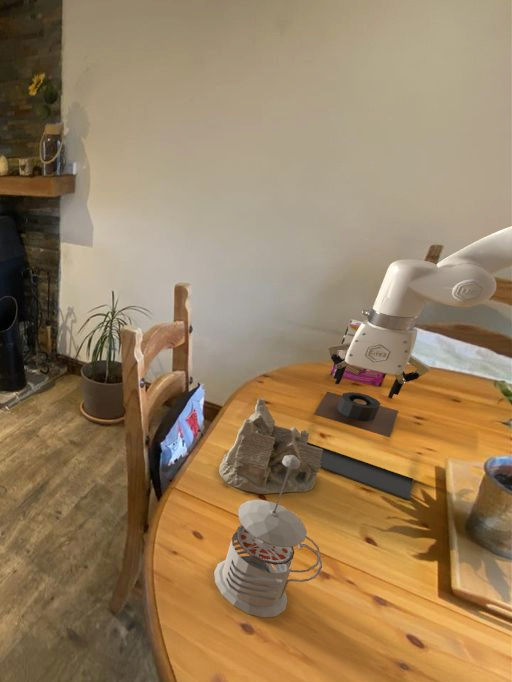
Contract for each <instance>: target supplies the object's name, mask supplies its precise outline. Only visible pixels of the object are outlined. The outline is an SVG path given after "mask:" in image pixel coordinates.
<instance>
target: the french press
mask: <svg viewBox="0 0 512 682" xmlns="http://www.w3.org/2000/svg"><path fill="white" fill-rule="evenodd" d="M282 463H283V464H284V465H285V466H286V467H289V468H288V471H287V474H286V477H285V480H284V483H283V486H282V489H281V492H280V493H279V496H278V497H277V501H276V502H273V501H270V500H269V501H268V500H263V499H251V500H250V499H249V500H246V501H245V502H243V503H241V504H240V506H239V508H238V510H237V515H238V520H239V522H240V523H241V525H239V526H238V527H237V528H236V531H235V532H234V533H233V534H232V537H231V539H230V544H229V546H228V551H227V553H226V558H225V559H223V560H222V561H221V562H219V563H217V565H216V567H215V569H214V571H213V575H214V583H215V585H216V587H217V588H218V591H219V592H220V594H221V595H222V597H224V598H225V599H226V600H227V601H228V602H229V603H230V604H231V605H232V606H234V607H235V608H237V609H239V610H240V611H242V612H243V613H246V614H247V615H251V616H256V617H259V618H262V619H263V618H273V617H278V616H280V615H281V613H283V612H285V611H286V608H287V604H288V601H289V600H288V596H287V592H286V589H287V586H288V584H289V583H291V582H296V583H297V582H299V583H302V582H309V581H311V580H313V579H315V578H317V576H319V575H320V572H321V571H322V568H323V562H322V559H321V558H322V555H321V550H320V547H319V545H317V543H316V542H315V540H313V539H311V538H310V537H308V535H307V534H308V531H307V529H306V525H305V523H304V522H303V520H301V518H299V516H298V515H297V514H295V512H292V511H291V510H290V509H288V508H286V507H285V506H283V505H281V504H279V503H280V501H281V498H282V494H283V493H282V492H283V489H284V486H285V483H286V480H287V477H288V474H289V471H290V468H292V469H297V468H299V466H300V460H299V459H298V458H297V457H296V456H294V455H287V456H285V457H284V458H283V461H282ZM305 540H308V541H310V542H311V543H312V545H314V546H315V548H316V550H315V549H314V548H312V547H311V546H310V545H308V544H306V543H304V542H305ZM235 541H236V542H235ZM237 545H239V546H237ZM235 546H236V547H235ZM294 547H298V550H299V551H301V550H302V548H303V547H306V548H308V549H309V550H310V551H312V553H313V554H314V555H315V556H316V558H317V560H316V562H315V563H314V564H312V565H311V566H310V567H308V568H307V569H302V570H298V569H296V570H295V569H293V565H294V563H292V562H293V560H294V556H295V548H294ZM239 550H241V551H239ZM245 554H248V555H245ZM240 555H241V556H240ZM318 565H319V567H318V568H317V570H316V572H315V574H313V575H312V576H310V577H309V578H304V579H303V578H302V579H296V578H294V579H293V578H289V576H290V573H306V572H310V571H312V570H314V568H316V567H317V566H318ZM273 567H274V568H273Z"/></svg>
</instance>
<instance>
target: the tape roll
mask: <svg viewBox="0 0 512 682" xmlns="http://www.w3.org/2000/svg"><path fill="white" fill-rule="evenodd" d="M341 395H342V397H341V399H340V402H339V405H338V407H337V409H338V411H339V412H340V413H342V414H343V415H345V416H347V417H350V418H353V419H356V420H363V421H369V420H373V419H374V418H375V416H376V414H377V411H378V409H379V407H380V406H381V402H380V401H379V400H378V399H377V398H375V397H373V396H370V395H368V394H366V393H365V394H364V393H360V392H353V391H352V392H351V391H349V392H344V393H342V394H341ZM354 399H360V400H363V401H365V402H366V405H361V404H358V403H355V402H353V400H354Z"/></svg>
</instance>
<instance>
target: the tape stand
mask: <svg viewBox="0 0 512 682" xmlns="http://www.w3.org/2000/svg"><path fill="white" fill-rule="evenodd" d="M342 395H343V394H337V393H335V392H330V391H326V392H325V394H324V395H323V398H322V399H321V401H320V402H319V404H318V406H317V408H316V409H315V411H314V412H313V415H314V416H317V417H321V418H325V419H327V420H331V421H335V422H337V423H340V424H344V425H347V426H350V427H354V428H357V429H361V430H364V431H367V432H371V433H374V434H378V435H381V436H383V437H386V438H391V436H392V433H393V430H394V426H395V423H396V420H397V417H398V413H399V410H397V409H393V408H389V407H388V406H382V405H380V407H379V409H378V411H377V414H376V416H375V418H374V419H373V420H369V421H363V420H356V419H353V418H350V417H347V416H345V415H343V414H342V413H340V412H339V411H338V409H337V407H338V405H339V402H340V399H341V397H342ZM353 402H355V403H358V404H361V405H366V402H365V401H363V400H360V399H354V400H353Z"/></svg>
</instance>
